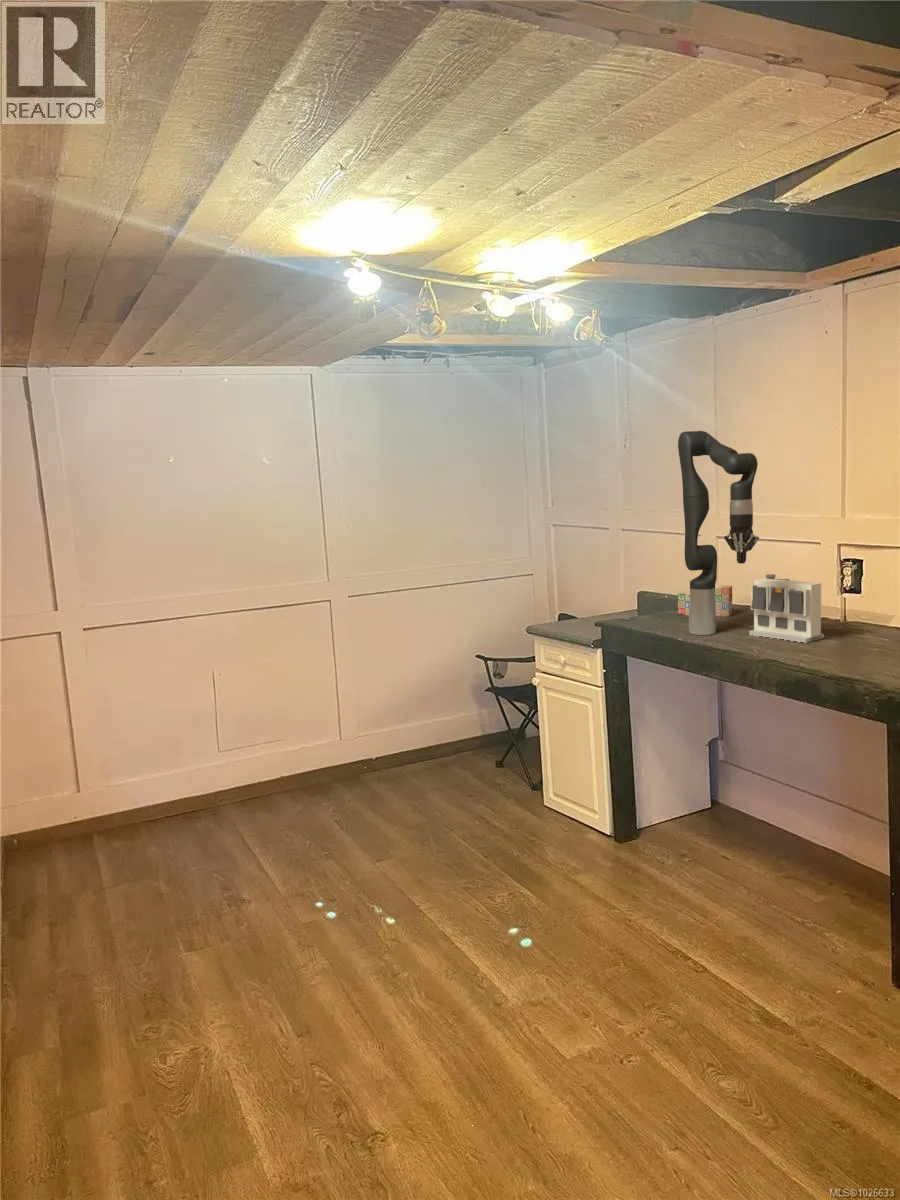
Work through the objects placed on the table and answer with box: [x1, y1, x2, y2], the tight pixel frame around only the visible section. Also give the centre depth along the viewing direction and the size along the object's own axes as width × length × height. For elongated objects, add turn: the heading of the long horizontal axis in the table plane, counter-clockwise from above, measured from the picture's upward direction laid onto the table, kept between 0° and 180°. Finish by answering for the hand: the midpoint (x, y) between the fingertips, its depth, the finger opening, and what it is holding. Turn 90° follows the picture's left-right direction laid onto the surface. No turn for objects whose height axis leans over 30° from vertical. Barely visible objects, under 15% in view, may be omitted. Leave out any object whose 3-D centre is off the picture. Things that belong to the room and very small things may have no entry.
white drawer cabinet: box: [748, 577, 825, 644], centre depth 323 cm, size 11×23×20 cm, turn 36°
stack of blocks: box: [677, 584, 733, 617], centre depth 376 cm, size 21×6×12 cm, turn 61°
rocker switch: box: [750, 587, 766, 610], centre depth 325 cm, size 2×5×8 cm, turn 36°
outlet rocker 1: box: [768, 588, 785, 612], centre depth 319 cm, size 2×5×8 cm, turn 36°
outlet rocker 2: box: [788, 590, 804, 614], centre depth 313 cm, size 2×5×8 cm, turn 35°
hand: (741, 563), depth 308 cm, fingers closed
